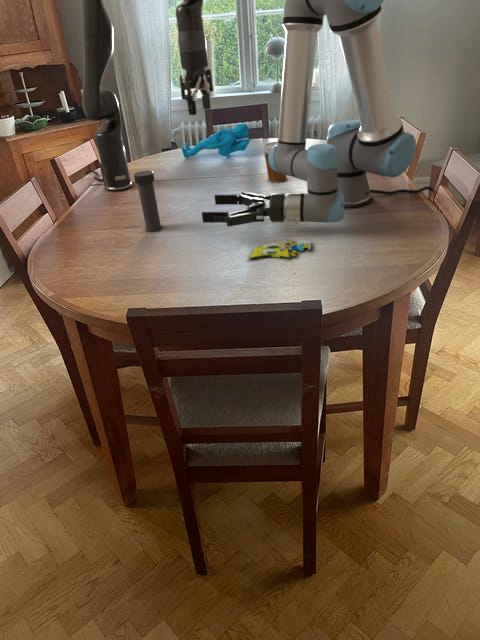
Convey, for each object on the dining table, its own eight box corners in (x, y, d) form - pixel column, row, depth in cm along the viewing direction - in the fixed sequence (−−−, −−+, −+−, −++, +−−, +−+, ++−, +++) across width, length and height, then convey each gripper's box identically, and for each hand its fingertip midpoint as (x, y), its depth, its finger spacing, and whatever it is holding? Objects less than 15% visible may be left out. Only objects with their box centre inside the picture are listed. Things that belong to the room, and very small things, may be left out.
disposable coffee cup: (260, 182, 170) (258, 147, 164) (269, 174, 177) (267, 141, 171) (286, 183, 167) (285, 148, 160) (294, 175, 174) (293, 141, 168)
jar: (162, 225, 143) (152, 172, 135) (159, 231, 140) (149, 176, 131) (147, 226, 144) (137, 173, 135) (145, 232, 140) (134, 177, 131)
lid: (156, 178, 136) (154, 170, 135) (152, 183, 132) (151, 175, 130) (137, 179, 136) (136, 171, 135) (133, 185, 132) (131, 176, 131)
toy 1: (187, 137, 214) (250, 117, 204) (195, 160, 219) (257, 142, 209) (175, 147, 200) (242, 126, 190) (184, 171, 205) (250, 153, 195)
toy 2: (310, 255, 116) (249, 256, 118) (310, 259, 116) (249, 259, 119) (310, 238, 124) (253, 239, 127) (310, 241, 125) (253, 242, 127)
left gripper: (194, 46, 139) (200, 107, 148) (167, 52, 128) (176, 116, 137) (216, 45, 136) (222, 107, 145) (191, 50, 125) (199, 117, 134)
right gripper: (279, 239, 120) (198, 238, 125) (291, 205, 141) (221, 205, 145) (278, 211, 116) (194, 211, 121) (290, 179, 137) (218, 180, 141)
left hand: (200, 111), depth 141 cm, fingers open, 8 cm apart
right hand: (209, 208), depth 133 cm, fingers open, 13 cm apart
